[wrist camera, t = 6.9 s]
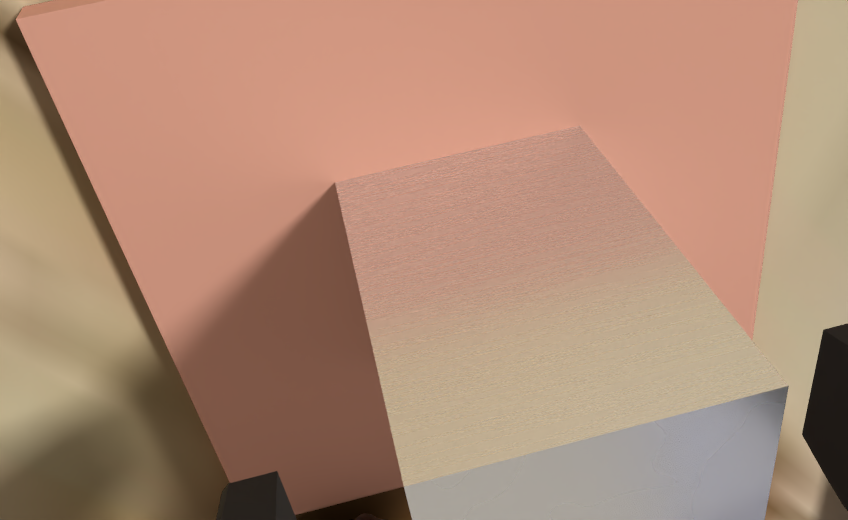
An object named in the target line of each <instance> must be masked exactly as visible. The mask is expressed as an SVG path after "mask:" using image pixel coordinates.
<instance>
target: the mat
mask: <svg viewBox="0 0 848 520" xmlns="http://www.w3.org/2000/svg"><path fill="white" fill-rule="evenodd" d="M797 3H798V0H53V1H49V2H44V3H39V4H34V5H30V6H25V7H23V8H22V10H21V11H20V13H19V15H18V16H17V18H16V21H17V23H18V26H19V28H20V30H21V32H22V34H23V36H24V39H25V41H26V43H27V45H28V47H29V49H30V51H31V54H32V56H33V58H34V60H35V62H36V64H37V67H38V69H39V71H40V73H41V75H42V77H43V80H44V82H45V84H46V86H47V88H48V90H49V93H50V95H51V97H52V99H53V101H54V103H55V106H56V108H57V110H58V112H59V114H60V116H61V119H62V121H63V123H64V125H65V127H66V129H67V132H68V134H69V136H70V138H71V140H72V142H73V145H74V147H75V149H76V151H77V153H78V155H79V158H80V160H81V162H82V164H83V166H84V168H85V171H86V173H87V175H88V177H89V179H90V181H91V184H92V186H93V188H94V190H95V192H96V194H97V197H98V199H99V201H100V203H101V205H102V207H103V209H104V212H105V214H106V216H107V218H108V220H109V222H110V225H111V227H112V229H113V231H114V233H115V235H116V238H117V240H118V242H119V244H120V246H121V248H122V251H123V253H124V255H125V257H126V259H127V261H128V264H129V266H130V268H131V270H132V272H133V274H134V277H135V279H136V281H137V283H138V285H139V287H140V290H141V292H142V294H143V296H144V298H145V300H146V303H147V305H148V307H149V309H150V311H151V313H152V316H153V318H154V320H155V322H156V324H157V326H158V329H159V331H160V333H161V335H162V337H163V339H164V342H165V344H166V346H167V348H168V350H169V352H170V355H171V357H172V359H173V361H174V363H175V365H176V367H177V370H178V372H179V374H180V376H181V378H182V380H183V383H184V385H185V387H186V389H187V391H188V393H189V396H190V398H191V400H192V402H193V404H194V406H195V409H196V411H197V413H198V415H199V417H200V419H201V422H202V424H203V426H204V428H205V430H206V432H207V435H208V437H209V439H210V441H211V443H212V445H213V448H214V450H215V452H216V454H217V456H218V458H219V461H220V463H221V465H222V467H223V469H224V471H225V474H226V476H227V478H228V480H229V482H230V483H232V482H236V481H240V480H244V479H248V478H252V477H255V476H259V475H263V474H267V473H271V472H275V471H277V472H278V474H279V477H280V479H281V482H282V484H283V487H284V489H285V492H286V494H287V497H288V499H289V502H290V504H291V507H292V509H293V512H294V514H295V515H298V514H301V513H305V512H309V511H313V510H317V509H320V508H324V507H328V506H332V505H336V504H339V503H343V502H347V501H351V500H355V499H358V498H362V497H366V496H370V495H374V494H377V493H381V492H385V491H389V490H393V489H396V488H400V487H404V485H403V481H402V477H401V472H400V468H399V463H398V459H397V454H396V450H395V446H394V441H393V437H392V432H391V428H390V423H389V419H388V415H387V410H386V406H385V401H384V397H383V393H382V388H381V384H380V379H379V375H378V370H377V366H376V362H375V357H374V353H373V348H372V344H371V339H370V335H369V331H368V326H367V322H366V317H365V313H364V308H363V304H362V300H361V295H360V291H359V286H358V282H357V278H356V273H355V269H354V264H353V260H352V255H351V251H350V247H349V242H348V238H347V233H346V229H345V224H344V220H343V216H342V211H341V207H340V202H339V198H338V193H337V189H336V185H335V182H338V181H342V180H346V179H351V178H355V177H359V176H364V175H368V174H372V173H377V172H381V171H385V170H389V169H394V168H398V167H402V166H407V165H411V164H415V163H420V162H424V161H428V160H433V159H437V158H441V157H446V156H450V155H454V154H459V153H463V152H467V151H472V150H476V149H480V148H485V147H489V146H493V145H497V144H502V143H506V142H510V141H515V140H519V139H523V138H528V137H532V136H536V135H541V134H545V133H549V132H554V131H558V130H562V129H567V128H571V127H575V126H580V127H581V128H582V129H583V130H584V132H585V133H586V134H587V135H588V137H589V138H590V139H591V140H592V142H593V143H594V144H595V145H596V147H597V148H598V149H599V150H600V152H601V153H602V154H603V155H604V156H605V158H606V159H607V160H608V161H609V163H610V164H611V165H612V166H613V168H614V169H615V170H616V171H617V173H618V174H619V175H620V176H621V178H622V179H623V180H624V181H625V183H626V184H627V185H628V186H629V188H630V189H631V190H632V191H633V193H634V194H635V195H636V196H637V198H638V199H639V200H640V201H641V203H642V204H643V205H644V206H645V208H646V209H647V210H648V211H649V213H650V214H651V215H652V216H653V218H654V219H655V220H656V221H657V223H658V224H659V225H660V226H661V228H662V229H663V230H664V231H665V232H666V234H667V235H668V236H669V237H670V239H671V240H672V241H673V242H674V244H675V245H676V246H677V247H678V249H679V250H680V251H681V252H682V254H683V255H684V256H685V257H686V259H687V260H688V261H689V262H690V264H691V265H692V266H693V267H694V269H695V270H696V271H697V272H698V274H699V275H700V276H701V277H702V279H703V280H704V281H705V282H706V284H707V285H708V286H709V287H710V289H711V290H712V291H713V292H714V294H715V295H716V296H717V297H718V299H719V300H720V301H721V302H722V304H723V305H724V306H725V307H726V308H727V310H728V311H729V312H730V313H731V315H732V316H733V317H734V318H735V320H736V321H737V322H738V323H739V325H740V326H741V327H742V328H743V330H744V331H745V332H746V333H747V335H748V336H749V337H750V338H751V340H752V338H753V331H754V323H755V316H756V308H757V301H758V294H759V286H760V279H761V271H762V264H763V256H764V249H765V241H766V234H767V226H768V219H769V212H770V204H771V197H772V189H773V182H774V174H775V167H776V159H777V152H778V144H779V137H780V130H781V122H782V115H783V107H784V100H785V92H786V85H787V77H788V70H789V62H790V55H791V48H792V40H793V33H794V25H795V18H796V10H797Z"/></svg>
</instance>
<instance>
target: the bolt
mask: <svg viewBox="0 0 848 520" xmlns="http://www.w3.org/2000/svg"><path fill="white" fill-rule="evenodd" d="M351 520H386V519H378V518H377V517H375V516H373V515H371V514H367V513H364V514H361V515H359V516H358V517H357V518H356V519H351Z"/></svg>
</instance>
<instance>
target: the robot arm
mask: <svg viewBox="0 0 848 520" xmlns="http://www.w3.org/2000/svg"><path fill="white" fill-rule="evenodd" d="M802 435H803V437H804V439H805V440H806V442H807V444H808V446H809V448H810V449H811V451H812V453H813V455H814V457H815V458H816V460H817V462H818V464H819V465H820V467H821V469H822V471H823V473H824V474H825V476H826V478H827V479H828V481H829V483H830V484H831V486H832V487H833V489H834V491H835V492H836V494H837V496H838V497H839V499H840V501H841V502H842V504H843V505H844V507H845V508H846V509H847V511H848V324H844V325H840V326H836V327H833V328H829V329H825V330H823V335H822V339H821V344H820V349H819V354H818V359H817V364H816V369H815V374H814V379H813V384H812V388H811V393H810V398H809V403H808V408H807V413H806V418H805V423H804V428H803V433H802ZM216 520H297V519H296V517H295V514H294V512H293V509H292V507H291V504H290V502H289V499H288V497H287V494H286V492H285V489H284V487H283V484H282V482H281V479H280V477H279V474H278V472H277V471H275V472H271V473H267V474H263V475H259V476H255V477H252V478H248V479H244V480H240V481H236V482H232V483H229V484H228V485H227V486H226V487H225V489H224V490H223V491H222V495H221V499H220V504H219V509H218V513H217V518H216Z"/></svg>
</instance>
